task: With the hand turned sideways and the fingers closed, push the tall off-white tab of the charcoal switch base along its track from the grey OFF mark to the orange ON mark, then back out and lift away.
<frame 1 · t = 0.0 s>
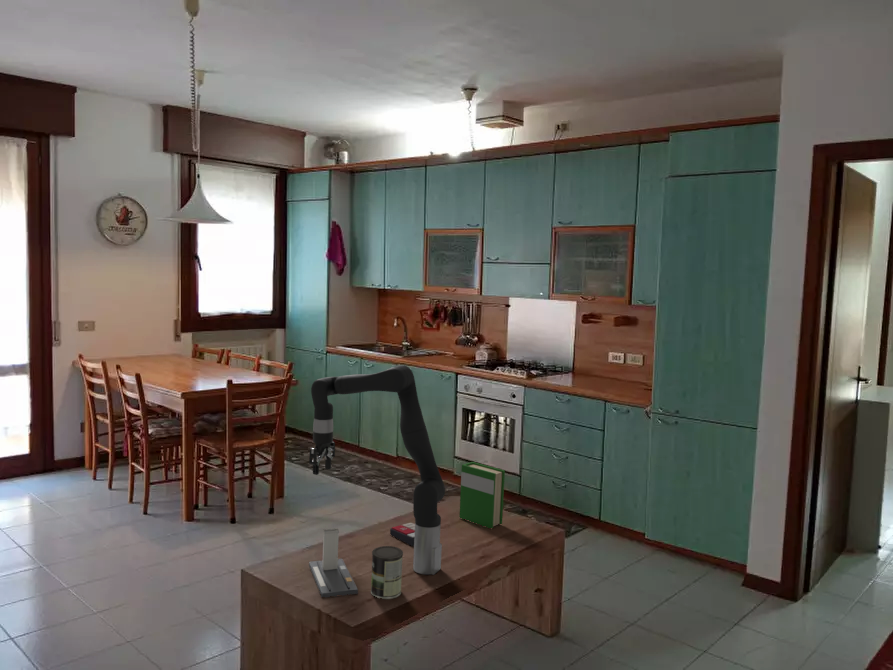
hand: (322, 471, 278), 29 cm above the table, tool pointing down, fingers open, 8 cm apart
switch base: (332, 579, 252), on the table
coffee can: (386, 593, 244), on the table
hardback book: (480, 522, 315), on the table
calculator: (411, 539, 293), on the table
switch tab: (330, 549, 256), point 9 cm above the table, slide at 0.0 cm
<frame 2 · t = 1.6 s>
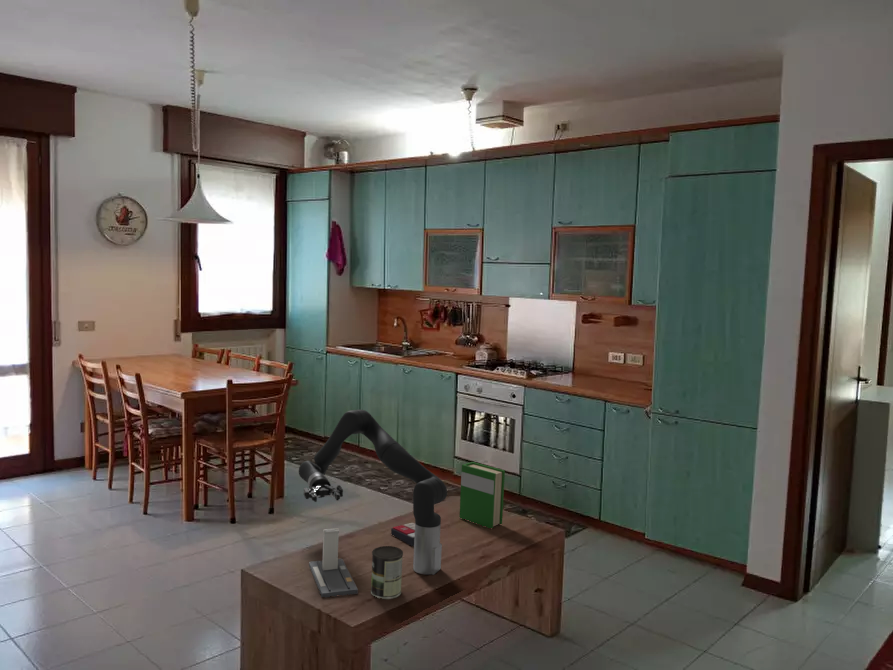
hand: (327, 498, 263), 24 cm above the table, tool horizontal, fingers open, 7 cm apart
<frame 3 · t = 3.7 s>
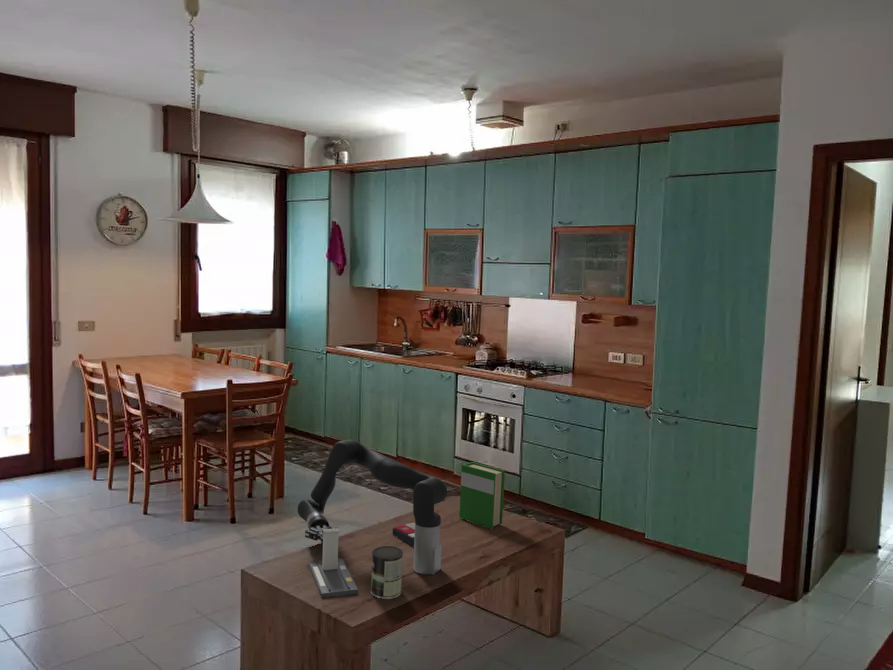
hand: (325, 541, 263), 8 cm above the table, tool horizontal, fingers closed
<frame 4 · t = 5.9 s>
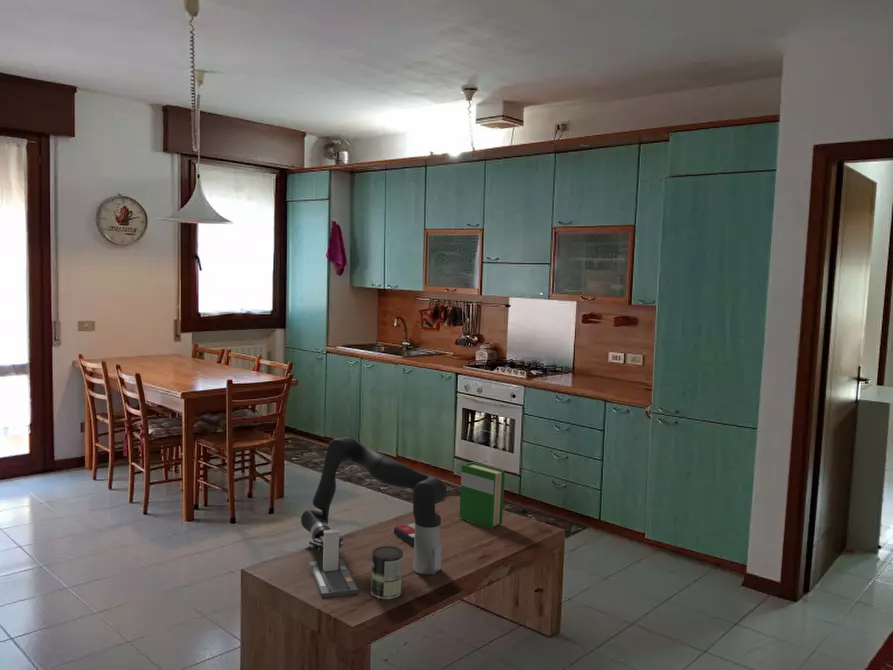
hand: (330, 552, 256), 7 cm above the table, tool horizontal, fingers closed
switch tab: (331, 550, 255), point 9 cm above the table, slide at 1.0 cm, touching gripper
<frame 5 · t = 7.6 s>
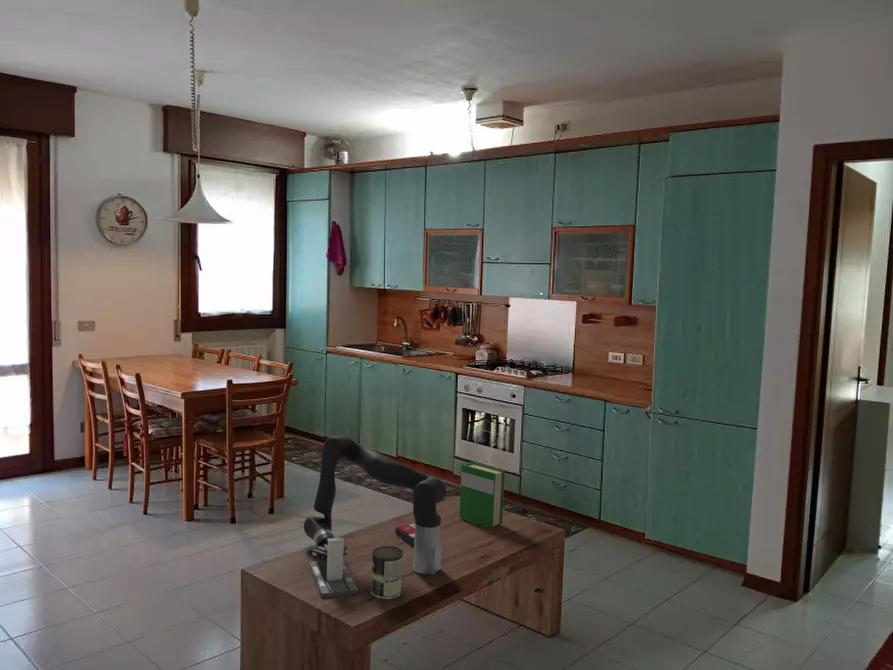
hand: (334, 561, 249), 7 cm above the table, tool horizontal, fingers closed
switch tab: (335, 559, 248), point 9 cm above the table, slide at 8.7 cm, touching gripper
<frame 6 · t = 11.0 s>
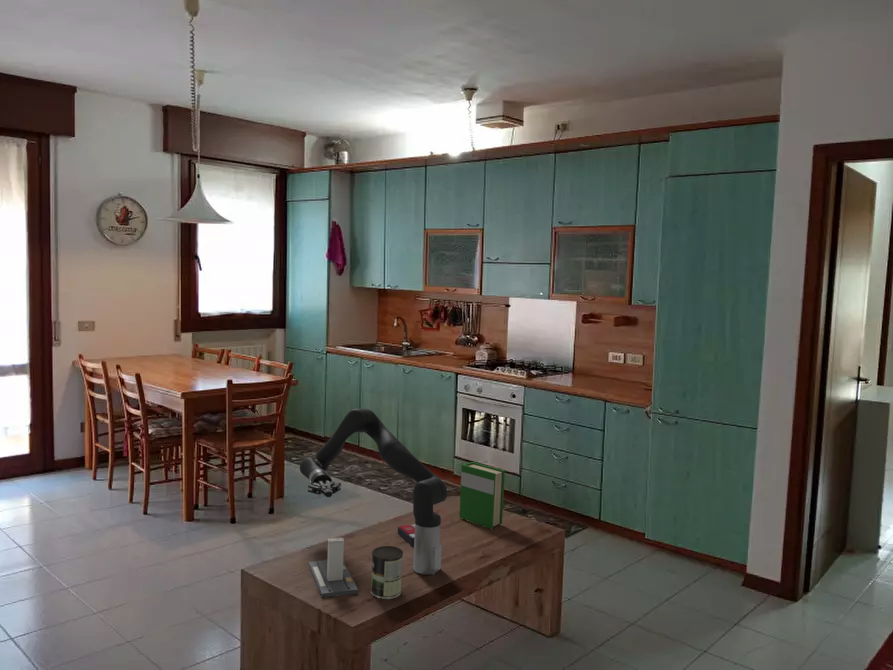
hand: (329, 494, 263), 26 cm above the table, tool horizontal, fingers closed
switch tab: (335, 559, 247), point 9 cm above the table, slide at 9.0 cm
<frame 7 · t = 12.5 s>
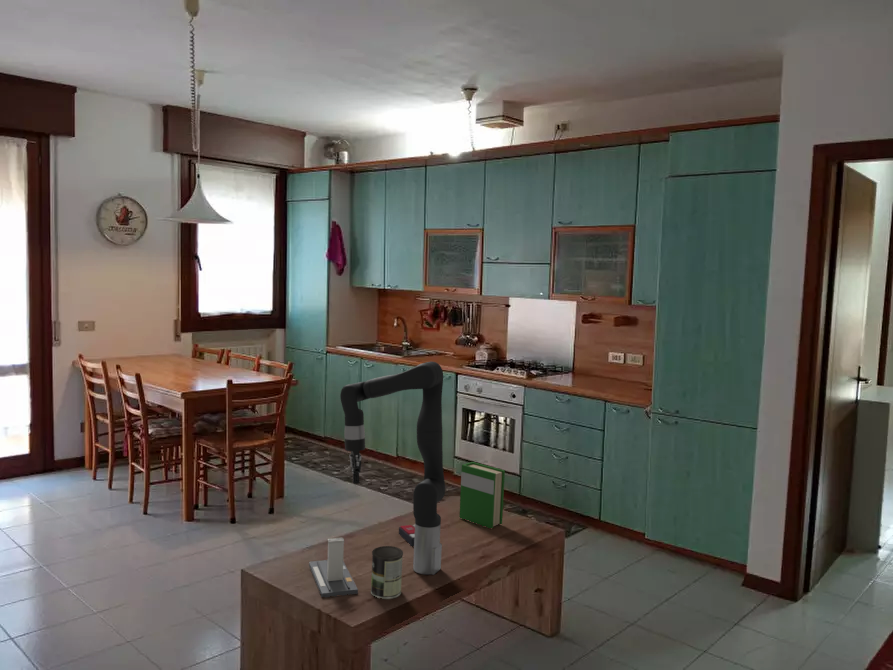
hand: (356, 483, 272), 27 cm above the table, tool pointing down, fingers closed
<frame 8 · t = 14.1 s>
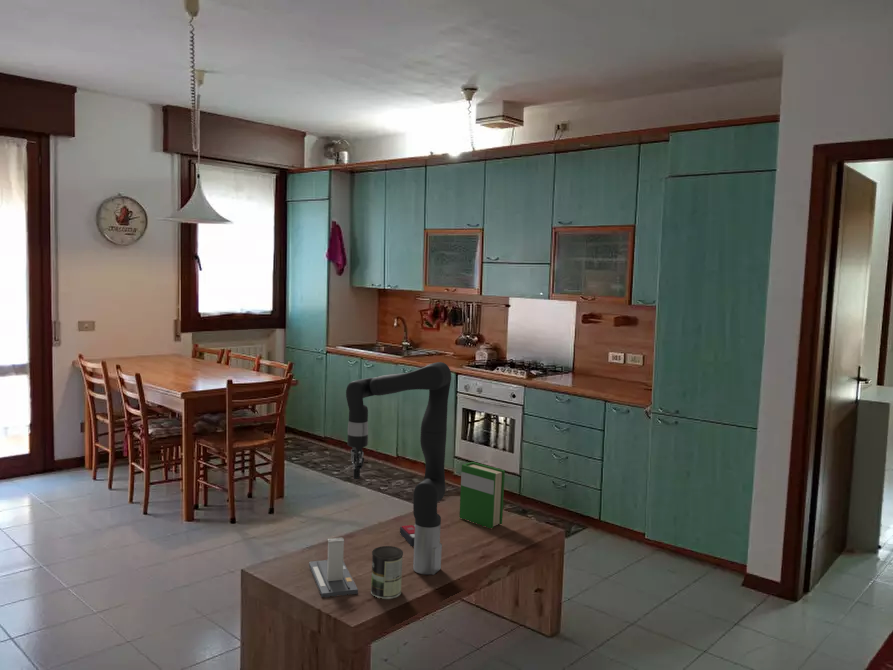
hand: (356, 478, 272), 29 cm above the table, tool pointing down, fingers closed
at the end: switch tab slide at 9.0 cm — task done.
